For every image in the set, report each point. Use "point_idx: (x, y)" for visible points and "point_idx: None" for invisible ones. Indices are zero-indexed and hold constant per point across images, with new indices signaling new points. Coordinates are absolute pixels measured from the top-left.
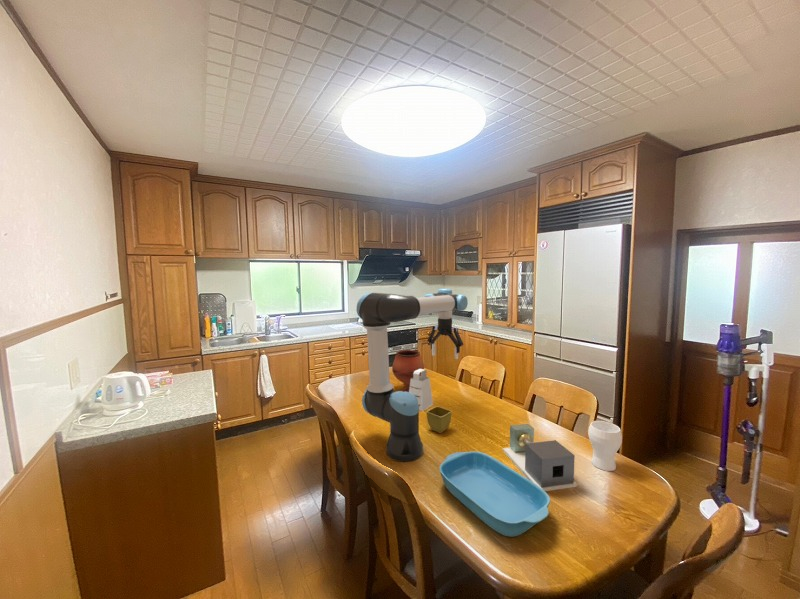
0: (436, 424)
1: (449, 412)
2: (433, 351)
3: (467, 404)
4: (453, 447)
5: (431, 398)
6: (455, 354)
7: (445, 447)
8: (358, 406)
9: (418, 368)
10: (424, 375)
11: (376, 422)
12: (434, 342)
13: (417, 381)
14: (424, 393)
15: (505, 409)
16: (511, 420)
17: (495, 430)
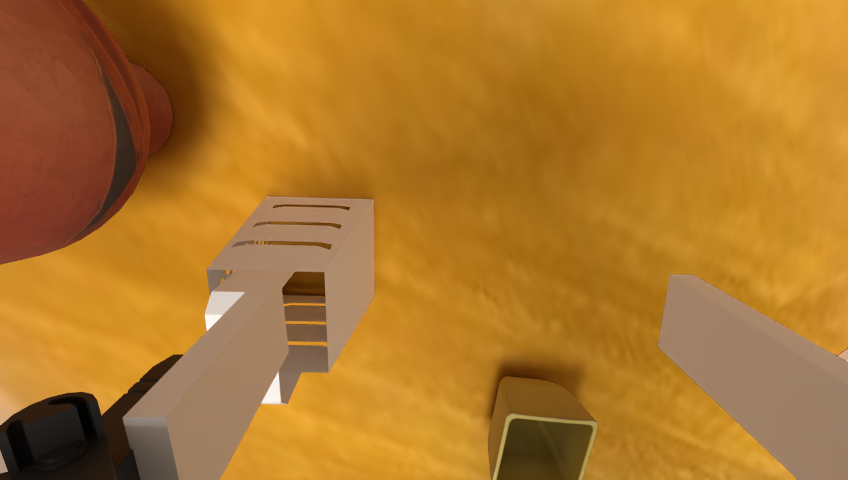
0: (536, 454)
1: (591, 440)
2: (264, 384)
3: (535, 76)
4: (614, 463)
5: (364, 222)
6: (724, 395)
7: (590, 475)
8: None
9: (94, 153)
10: (270, 274)
11: (276, 471)
12: (95, 402)
13: (290, 367)
14: (353, 309)
15: (757, 15)
16: (796, 143)
17: (733, 281)
